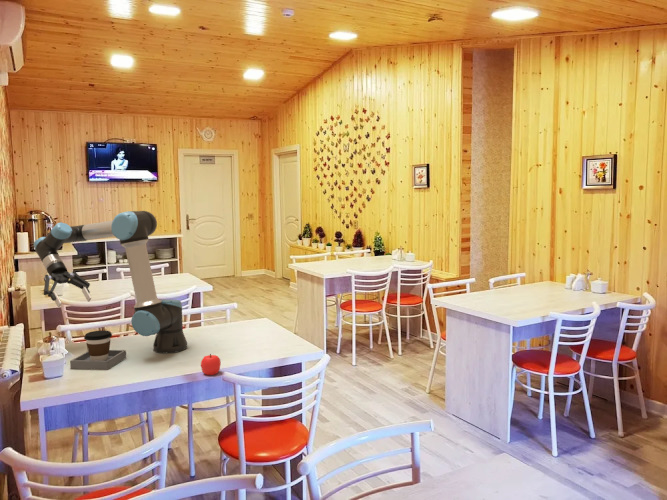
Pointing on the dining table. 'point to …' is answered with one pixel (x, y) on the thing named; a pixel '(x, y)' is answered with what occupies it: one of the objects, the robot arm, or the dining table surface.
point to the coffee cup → (98, 344)
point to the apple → (210, 364)
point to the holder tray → (86, 363)
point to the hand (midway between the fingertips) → (75, 302)
